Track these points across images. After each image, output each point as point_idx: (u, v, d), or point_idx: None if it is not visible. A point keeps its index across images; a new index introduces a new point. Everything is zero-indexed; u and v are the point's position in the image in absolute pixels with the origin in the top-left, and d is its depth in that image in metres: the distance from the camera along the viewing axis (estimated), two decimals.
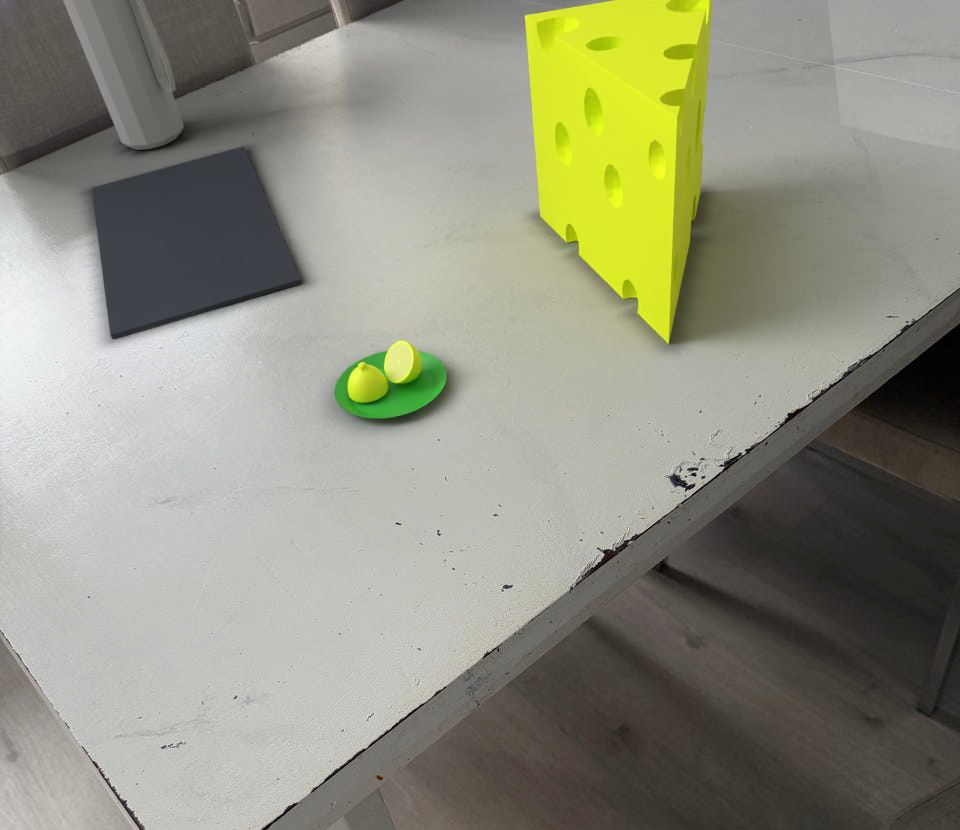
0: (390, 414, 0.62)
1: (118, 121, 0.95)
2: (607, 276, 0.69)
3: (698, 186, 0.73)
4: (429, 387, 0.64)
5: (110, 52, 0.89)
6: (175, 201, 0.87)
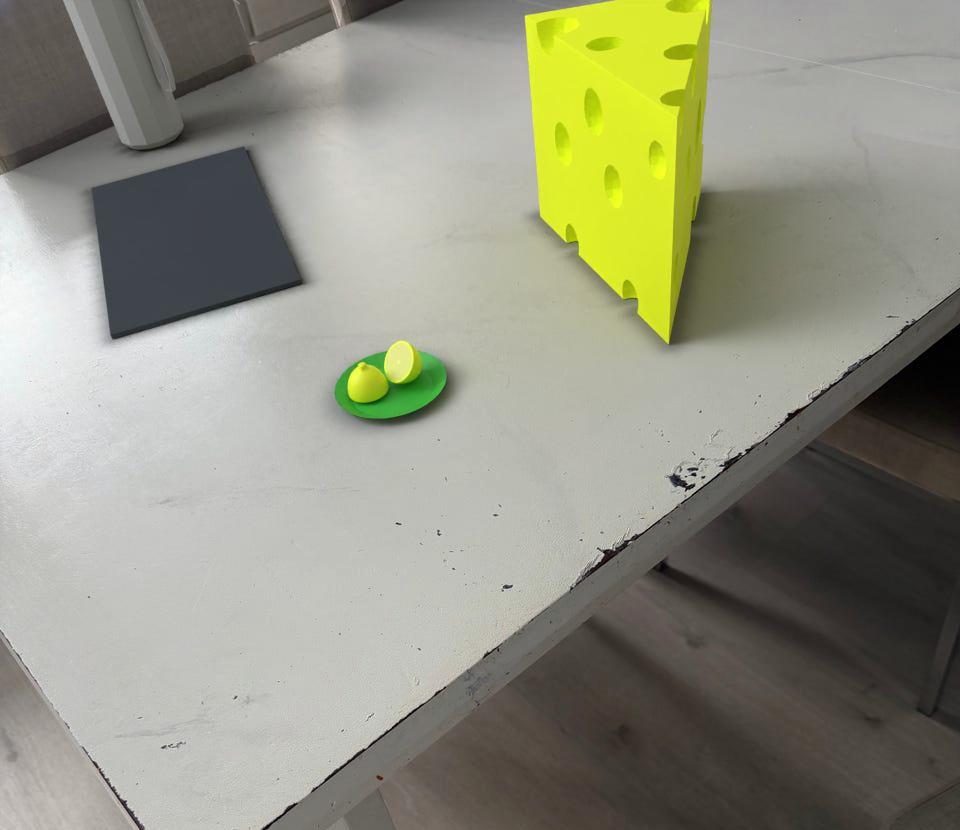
0: (390, 414, 0.62)
1: (118, 121, 0.95)
2: (607, 276, 0.69)
3: (698, 186, 0.73)
4: (429, 387, 0.64)
5: (110, 52, 0.89)
6: (175, 201, 0.87)
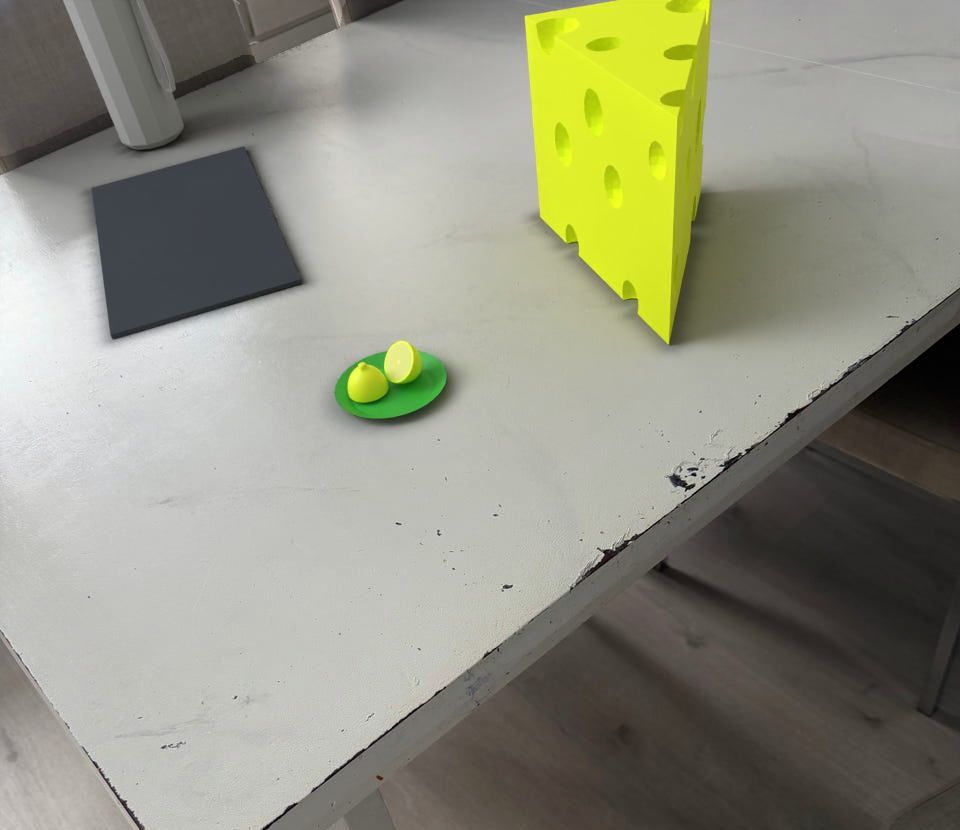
0: (390, 414, 0.62)
1: (118, 121, 0.95)
2: (607, 277, 0.69)
3: (698, 187, 0.73)
4: (429, 387, 0.64)
5: (110, 52, 0.89)
6: (175, 201, 0.87)
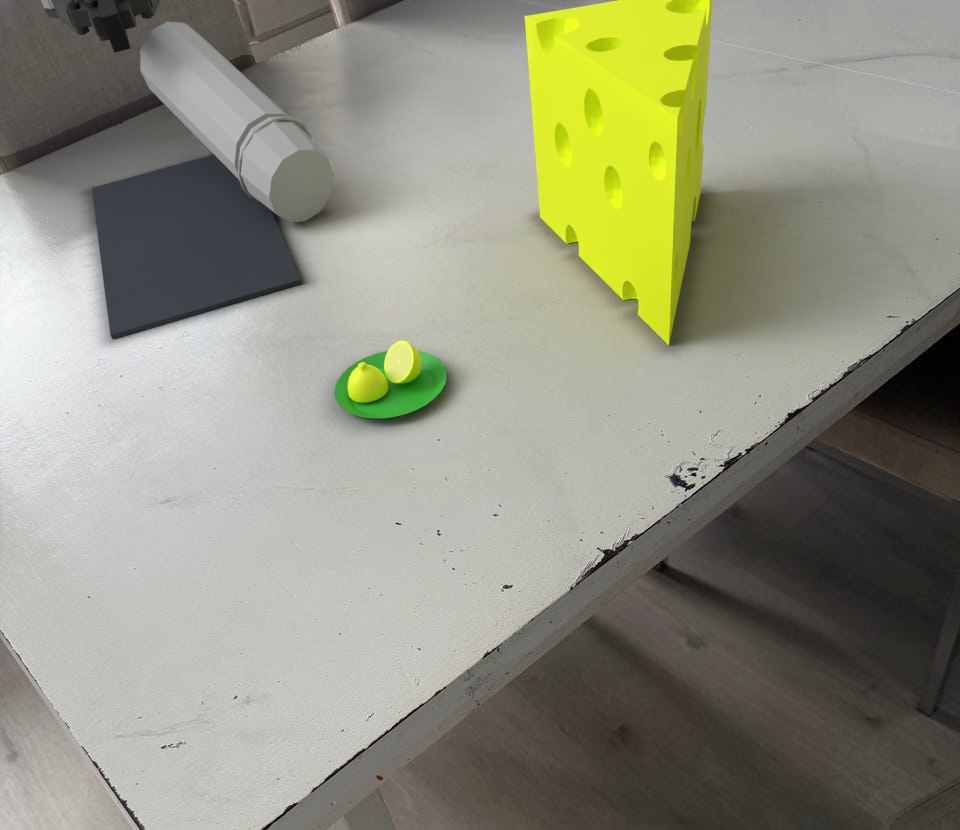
0: (390, 414, 0.62)
1: (156, 93, 0.88)
2: (607, 277, 0.69)
3: (698, 187, 0.73)
4: (429, 387, 0.64)
5: None
6: (175, 201, 0.87)
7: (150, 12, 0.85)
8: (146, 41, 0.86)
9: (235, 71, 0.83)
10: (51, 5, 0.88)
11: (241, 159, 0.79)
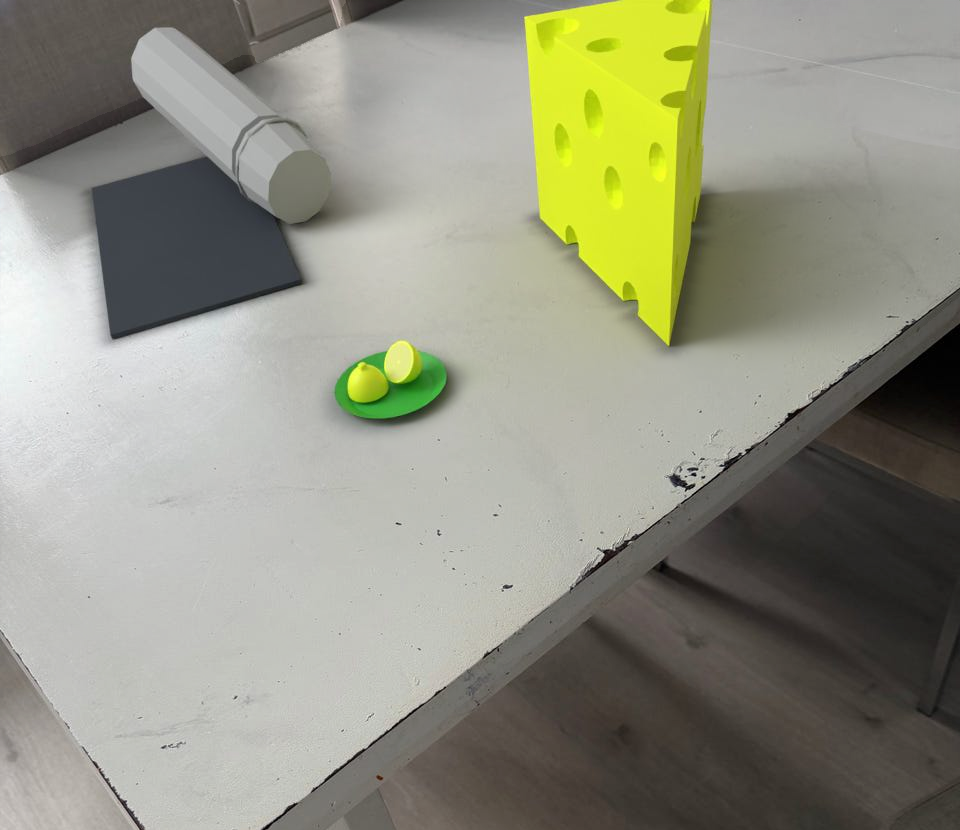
0: (390, 414, 0.62)
1: (150, 101, 0.88)
2: (607, 278, 0.68)
3: (698, 188, 0.73)
4: (429, 387, 0.64)
5: None
6: (175, 201, 0.87)
7: None
8: (136, 50, 0.86)
9: (226, 74, 0.82)
10: None
11: (238, 165, 0.79)
